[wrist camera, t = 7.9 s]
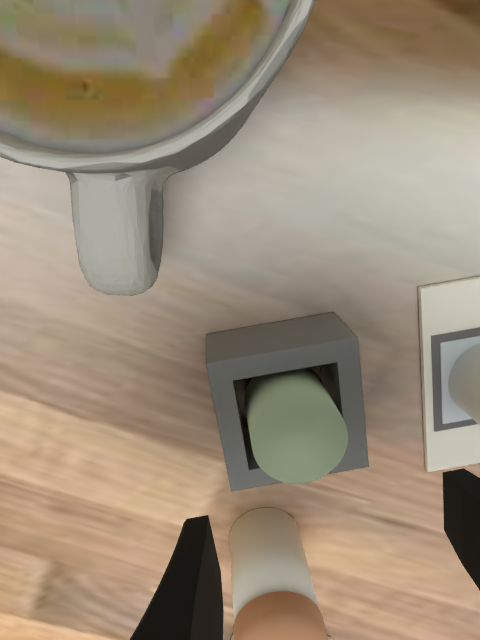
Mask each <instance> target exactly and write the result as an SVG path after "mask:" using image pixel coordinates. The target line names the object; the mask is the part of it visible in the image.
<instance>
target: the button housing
mask: <svg viewBox="0 0 480 640" xmlns="http://www.w3.org/2000/svg"><path fill="white" fill-rule="evenodd" d="M318 365H320V366H321V374H322V383H323V384H324V386H325V388H326V390H327V391H328V393H329V395H330V397H331V398H332V400H333V402H334V404H335V405H336V407H337V409H338V411H339V412H340V414H341V416H342V418H343V420H344V422H345V424H346V427H347V431H348V444H347V448H346V451H345V454H344V456H343V458H342V459H341V461H340V462H339V463H338V465H337V466H336V467H335V468H334V469H333V470H332V471H330V472H329V473H328V474H331V473H337V472H342V471H348V470H353V469H359V468H364V467H369V462H368V451H367V439H366V427H365V415H364V403H363V391H362V380H361V368H360V356H359V344H358V337H357V336H356V335H355V333H354V332H353V331H352V330H351V329H350V328H349V327H348V326H347V325H346V324H345V323H344V322H343V321H342V320H341V319H340V318H339V317H338V316H337V315H336V314H335V313H334V312H331V313H325V314H319V315H314V316H308V317H302V318H296V319H291V320H285V321H279V322H273V323H268V324H262V325H256V326H250V327H245V328H239V329H233V330H228V331H222V332H216V333H210V334H206V367H207V372H208V377H209V382H210V387H211V392H212V397H213V402H214V407H215V412H216V417H217V422H218V427H219V432H220V437H221V442H222V447H223V452H224V457H225V462H226V468H227V473H228V478H229V483H230V488H231V492H232V491H237V490H243V489H248V488H254V487H259V486H265V485H270V484H276V483H281V482H282V481H279V480H276V479H274V478H272V477H270V476H269V475H267V474H266V473H265V472H264V471H263V470H262V469H261V468H260V467H259V465H258V464H257V462H256V460H255V458H254V455H253V451H252V445H251V439H250V433H249V427H248V426H245V427H242V421H241V415H240V410H239V404H238V399H237V393H236V388H235V382H234V380H239V379H244V378H250V377H256V376H261V375H267V374H273V373H278V372H284V371H290V370H295V369H301V368H307V367H312V366H318Z"/></svg>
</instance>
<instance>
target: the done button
mask: <svg viewBox="0 0 480 640" xmlns="http://www.w3.org/2000/svg"><path fill="white" fill-rule="evenodd" d="M244 402H245V409H246V415H247V421H248V427H249V433H250V439H251V445H252V451H253V455H254V458H255V460H256V462H257V464H258V465H259V467H260V468H261V469H262V470H263V471H264V472H265V473H266V474H267V475H269V476H270V477H272V478H274V479H276V480H279V481H282V482H286V483H306V482H311V481H314V480H317V479H319V478H321V477H323V476H325V475H326V474H328V473H329V472H330V471H332V470H333V469H334V468H335V467H336V466H337V465H338V463H339V462H340V461H341V459H342V458H343V456H344V454H345V451H346V448H347V444H348V431H347V427H346V424H345V422H344V420H343V418H342V416H341V414H340V412H339V411H338V409H337V407H336V405H335V404H334V402H333V400H332V398H331V397H330V395H329V393H328V391H327V390H326V388H325V386H324V384H323V383H322V381H321V379H320V378H319V376H318V375H317V374H316V373H315V372H314V371H313V370H312V369H311V368H309V367H307V368H301V369H295V370H290V371H284V372H278V373H273V374H267V375H261V376H256V377H253V378H252V379H251V381H250V382H249V384H248V386H247V389H246V392H245V399H244Z"/></svg>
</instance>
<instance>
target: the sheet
mask: <svg viewBox="0 0 480 640" xmlns="http://www.w3.org/2000/svg"><path fill="white" fill-rule="evenodd" d="M418 304H419V329H420V354H421V379H422V404H423V429H424V454H425V469H426V471H427V472H432V471H438V470H443V469H449V468H454V467H460V466H465V465H471V464H476V463H480V425H479V424H478V423H476V422H475V421H474V420H473V419H472V418H471V417H470V416H469V415H468V414H466V413H465V412H464V411H463V410H462V409H461V408H460V407H459V406H458V405H457V404H455V402H454V401H453V400H452V398H451V396H450V393H449V389H448V379H449V375H450V372H451V369H452V367H453V365H454V364H455V362H456V361H457V359H458V358H459V357H460V356H461V355H462V354H463V353H464V352H466V351H467V350H468V349H470V348H472V347H473V346H475V345H478V344H480V276H478V277H472V278H466V279H460V280H455V281H449V282H443V283H437V284H432V285H426V286H420V287H418Z"/></svg>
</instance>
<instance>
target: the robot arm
mask: <svg viewBox="0 0 480 640" xmlns="http://www.w3.org/2000/svg"><path fill="white" fill-rule="evenodd" d="M443 500H444V530H445V532H446V534H447V536H448V538H449V540H450V542H451V544H452V546H453V548H454V550H455V552H456V553H457V555H458V557H459V559H460V561H461V563H462V564H463V566H464V568H465V569H466V571H467V572H468V574H469V575H470V576H471V578H472V579H473V581H474V582H475V584H476V585H477V587H478V588H479V590H480V478H479V477H477V476H475V475H474V474H472V473H470V472H469V471H467V470H465V469H459V470H454V471H448V472H443ZM130 640H223V597H222V583H221V571H220V566H219V562H218V557H217V553H216V548H215V544H214V539H213V535H212V530H211V526H210V521H209V517H208V515H206V516H201V517H195V518H190V519H187V520H186V521H185V522H184V524H183V527H182V531H181V533H180V536H179V539H178V542H177V544H176V547H175V550H174V552H173V555H172V557H171V560H170V562H169V564H168V566H167V569H166V571H165V573H164V575H163V578H162V580H161V582H160V584H159V586H158V588H157V590H156V592H155V594H154V596H153V598H152V600H151V602H150V604H149V606H148V608H147V610H146V612H145V614H144V616H143V617H142V619H141V621H140V623H139V625H138V626H137V628H136V630H135V632H134V633H133V635H132V637H131V638H130Z"/></svg>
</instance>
